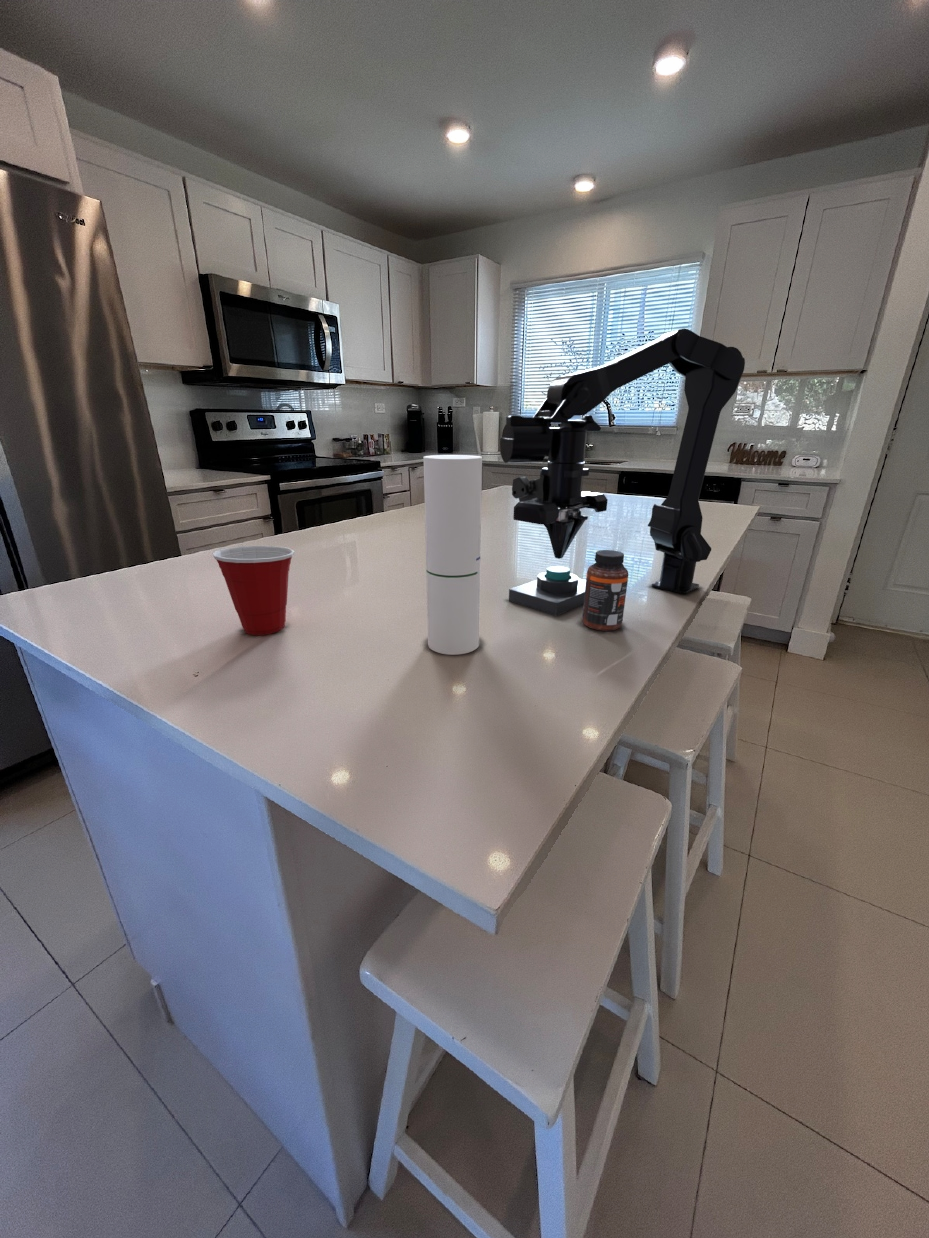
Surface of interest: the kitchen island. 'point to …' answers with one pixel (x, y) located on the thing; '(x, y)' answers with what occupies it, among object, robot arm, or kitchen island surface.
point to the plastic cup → (257, 585)
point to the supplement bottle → (605, 591)
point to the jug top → (550, 594)
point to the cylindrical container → (453, 551)
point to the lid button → (558, 573)
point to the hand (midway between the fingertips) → (558, 558)
